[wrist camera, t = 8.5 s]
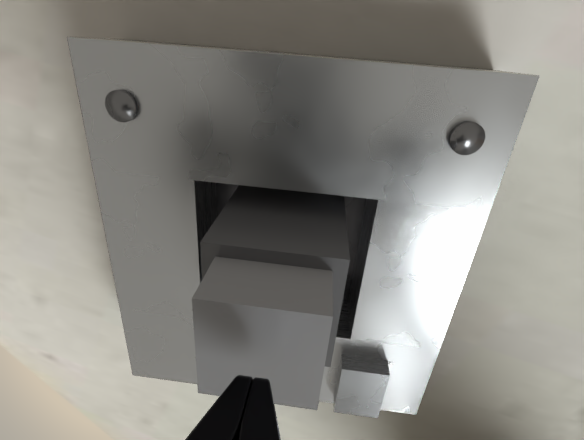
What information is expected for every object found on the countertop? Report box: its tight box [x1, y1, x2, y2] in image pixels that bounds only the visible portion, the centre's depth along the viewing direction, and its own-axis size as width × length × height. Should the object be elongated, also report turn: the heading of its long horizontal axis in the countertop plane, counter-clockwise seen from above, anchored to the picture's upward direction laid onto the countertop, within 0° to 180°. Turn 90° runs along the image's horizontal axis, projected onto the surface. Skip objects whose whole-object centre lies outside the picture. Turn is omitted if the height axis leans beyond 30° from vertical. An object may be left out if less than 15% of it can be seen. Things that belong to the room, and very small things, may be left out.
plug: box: [192, 185, 350, 410], centre depth 13 cm, size 4×4×7 cm
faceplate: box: [67, 37, 539, 418], centre depth 14 cm, size 15×14×4 cm
